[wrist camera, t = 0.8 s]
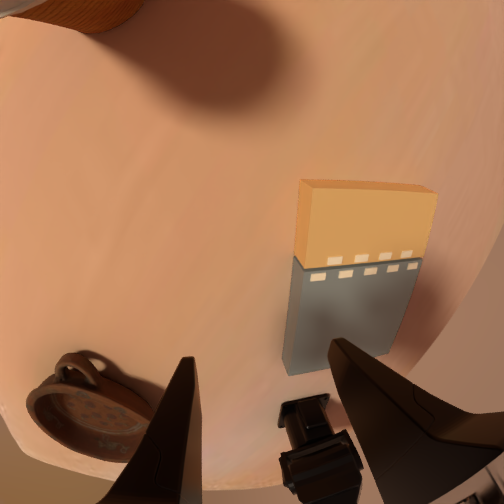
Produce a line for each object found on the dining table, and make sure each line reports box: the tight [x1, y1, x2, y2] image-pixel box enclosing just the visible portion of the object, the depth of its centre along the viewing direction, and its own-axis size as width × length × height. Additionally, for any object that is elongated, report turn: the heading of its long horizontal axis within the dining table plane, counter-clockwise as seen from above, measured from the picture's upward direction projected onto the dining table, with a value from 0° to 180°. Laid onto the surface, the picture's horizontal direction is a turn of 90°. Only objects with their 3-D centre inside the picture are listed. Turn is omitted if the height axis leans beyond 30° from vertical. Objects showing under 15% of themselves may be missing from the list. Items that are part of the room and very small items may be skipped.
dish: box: [26, 353, 154, 463], centre depth 26 cm, size 18×22×5 cm
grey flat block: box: [282, 256, 422, 376], centre depth 26 cm, size 12×12×3 cm
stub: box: [294, 180, 438, 269], centre depth 22 cm, size 6×12×3 cm, turn 89°
